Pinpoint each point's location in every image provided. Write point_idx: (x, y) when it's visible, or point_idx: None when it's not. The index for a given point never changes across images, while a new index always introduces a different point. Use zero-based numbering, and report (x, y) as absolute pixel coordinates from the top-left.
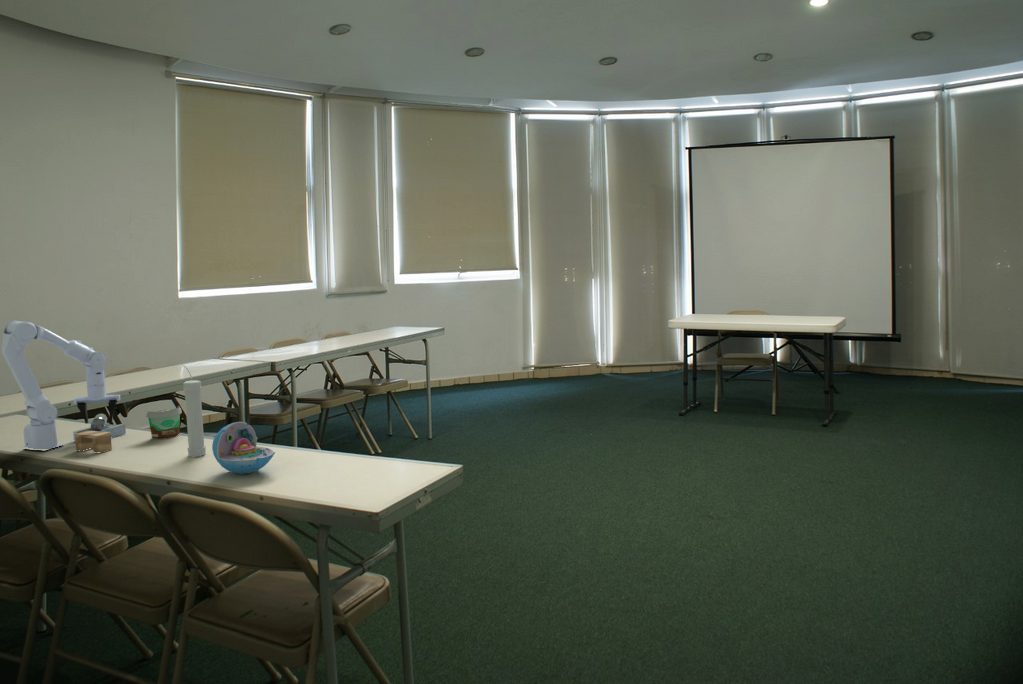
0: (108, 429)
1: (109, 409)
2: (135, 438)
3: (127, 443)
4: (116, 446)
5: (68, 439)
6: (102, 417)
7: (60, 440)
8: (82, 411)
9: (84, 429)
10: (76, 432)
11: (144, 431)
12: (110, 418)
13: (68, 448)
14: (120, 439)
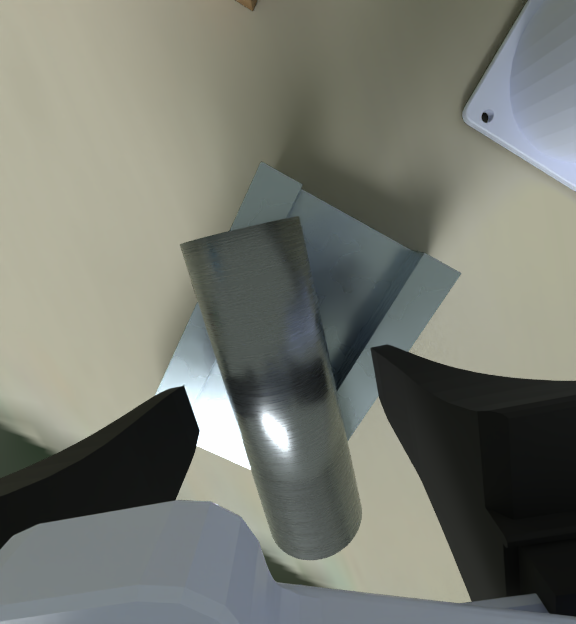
0: (195, 308)
1: (90, 450)
2: (33, 252)
3: (10, 99)
4: (46, 5)
5: (477, 332)
6: (248, 427)
7: (523, 316)
8: (471, 381)
9: (388, 335)
10: (428, 255)
11: (72, 428)
12: (161, 395)
13: (406, 29)
14: (125, 247)
